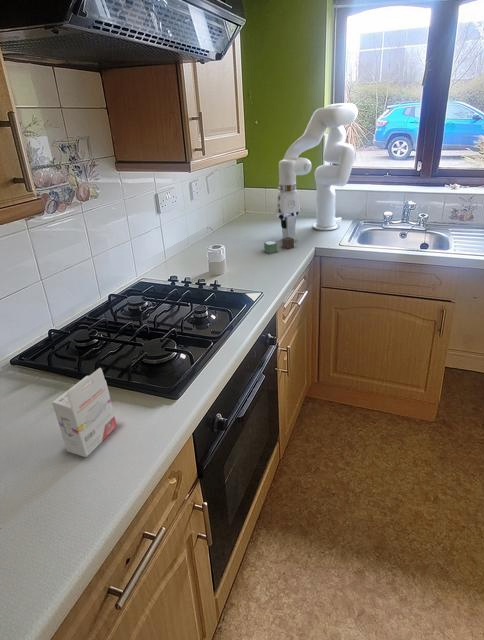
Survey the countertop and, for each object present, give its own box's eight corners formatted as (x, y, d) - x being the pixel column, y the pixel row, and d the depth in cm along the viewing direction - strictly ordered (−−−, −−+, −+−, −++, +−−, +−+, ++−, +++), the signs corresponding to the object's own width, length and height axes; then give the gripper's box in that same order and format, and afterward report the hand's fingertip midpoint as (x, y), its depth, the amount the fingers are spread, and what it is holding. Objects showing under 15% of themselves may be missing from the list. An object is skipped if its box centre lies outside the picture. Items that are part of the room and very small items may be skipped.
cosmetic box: (296, 241, 192) (296, 216, 187) (288, 242, 190) (287, 217, 185) (289, 238, 197) (289, 213, 192) (281, 239, 195) (280, 214, 190)
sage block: (271, 249, 182) (271, 240, 180) (276, 251, 179) (276, 243, 177) (264, 251, 180) (264, 242, 178) (269, 253, 177) (269, 244, 175)
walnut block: (289, 245, 186) (289, 236, 185) (294, 247, 183) (294, 238, 182) (282, 246, 184) (281, 238, 183) (287, 249, 181) (286, 240, 180)
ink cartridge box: (98, 421, 84) (83, 361, 78) (117, 427, 82) (104, 366, 77) (65, 451, 77) (46, 388, 71) (85, 459, 75) (67, 394, 69)
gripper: (276, 191, 177) (278, 232, 184) (307, 186, 185) (307, 225, 192) (267, 189, 182) (269, 228, 189) (297, 184, 191) (298, 222, 198)
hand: (288, 226), depth 191 cm, fingers closed on cosmetic box, 4 cm apart
